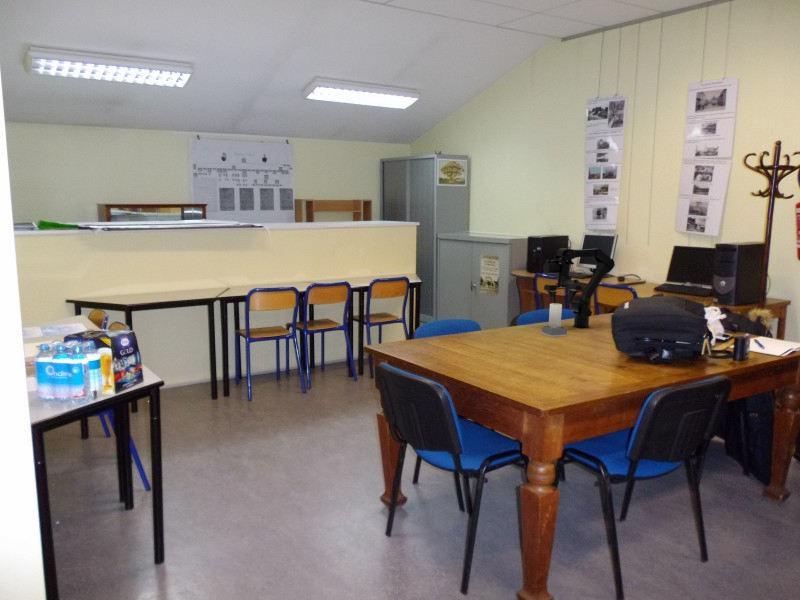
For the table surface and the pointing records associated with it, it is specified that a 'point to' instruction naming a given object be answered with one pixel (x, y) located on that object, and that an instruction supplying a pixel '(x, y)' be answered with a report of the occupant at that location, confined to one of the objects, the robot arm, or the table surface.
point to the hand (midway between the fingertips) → (562, 304)
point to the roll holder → (554, 331)
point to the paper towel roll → (555, 316)
